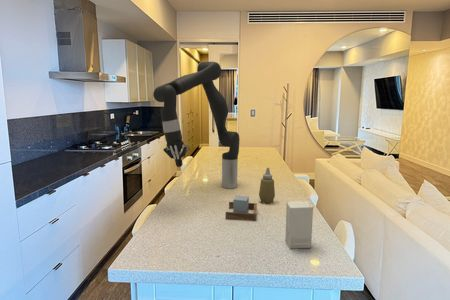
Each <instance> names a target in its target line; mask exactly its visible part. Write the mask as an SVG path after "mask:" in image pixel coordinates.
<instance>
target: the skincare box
mask: <svg viewBox="0 0 450 300" xmlns="http://www.w3.org/2000/svg"><path fill="white" fill-rule="evenodd" d="M285 206H286V208H285V209H286V211H285V212H286V214H285V243H286V245H287V246H288V248H289V249H311V248H312V239H313V238H312V236H313V220H314V219H313V216H314V206H313V205H312V204H311V203H310V201H308V200H304V201H303V200H302V201H301V200H299V201H297V200H296V201H286V205H285Z"/></svg>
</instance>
